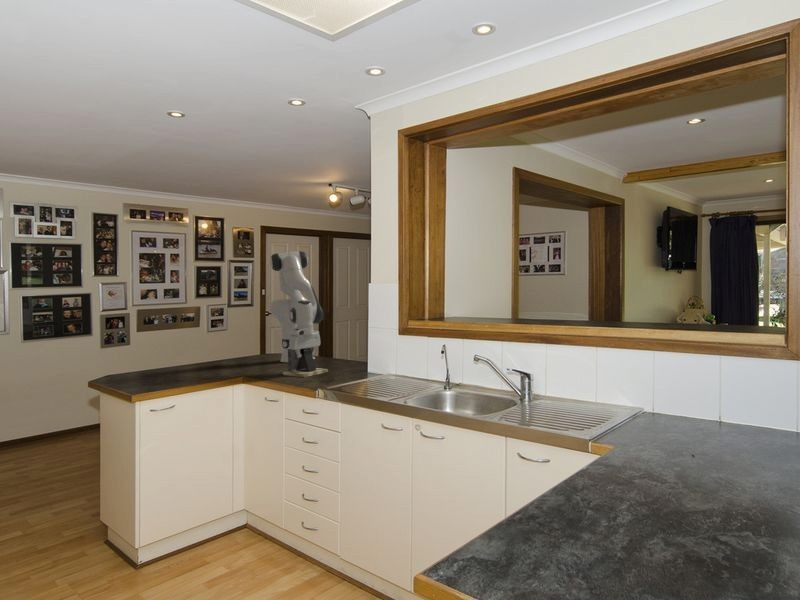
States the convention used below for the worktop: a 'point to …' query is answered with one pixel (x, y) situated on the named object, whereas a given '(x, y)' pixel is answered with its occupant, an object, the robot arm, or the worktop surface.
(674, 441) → the worktop surface
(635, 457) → the worktop surface
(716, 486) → the worktop surface
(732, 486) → the worktop surface
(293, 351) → the l-shaped stand
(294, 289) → the robot arm
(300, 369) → the door stopper
